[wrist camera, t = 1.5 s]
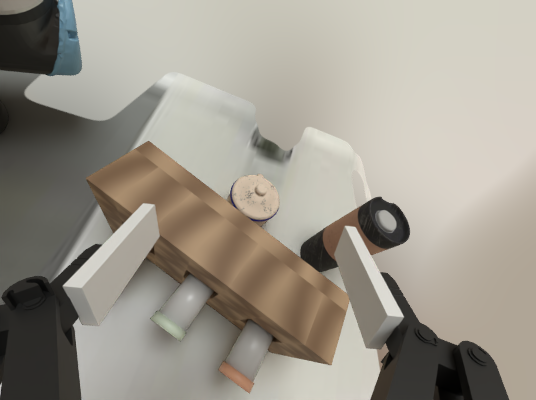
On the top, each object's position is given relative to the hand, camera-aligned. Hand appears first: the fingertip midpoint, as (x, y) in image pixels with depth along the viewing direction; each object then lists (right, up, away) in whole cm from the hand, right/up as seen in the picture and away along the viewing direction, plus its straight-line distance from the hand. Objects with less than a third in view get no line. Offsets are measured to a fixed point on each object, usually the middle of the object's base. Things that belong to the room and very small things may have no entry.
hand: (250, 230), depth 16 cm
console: (-9, -10, +22) cm, 26 cm away
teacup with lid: (-4, 0, +31) cm, 31 cm away
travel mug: (+11, -10, +33) cm, 36 cm away
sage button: (-10, -12, +14) cm, 21 cm away
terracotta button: (-2, -18, +14) cm, 23 cm away
